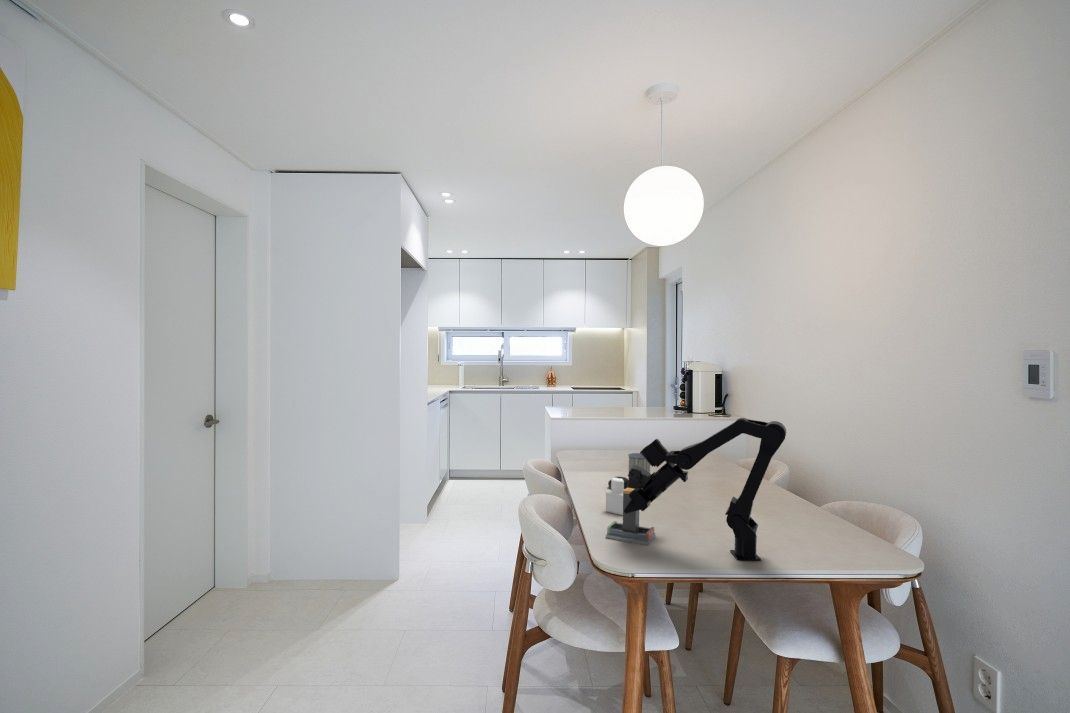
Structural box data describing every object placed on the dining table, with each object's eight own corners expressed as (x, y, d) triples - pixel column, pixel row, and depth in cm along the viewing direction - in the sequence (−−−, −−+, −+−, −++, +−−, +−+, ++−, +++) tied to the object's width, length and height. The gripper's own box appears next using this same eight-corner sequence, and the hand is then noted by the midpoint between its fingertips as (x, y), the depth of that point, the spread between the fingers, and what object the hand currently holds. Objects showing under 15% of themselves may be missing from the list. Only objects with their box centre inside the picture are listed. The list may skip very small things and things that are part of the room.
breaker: (638, 531, 169) (639, 489, 169) (635, 535, 165) (636, 492, 165) (626, 529, 171) (627, 487, 170) (622, 533, 167) (623, 490, 167)
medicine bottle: (615, 507, 199) (616, 474, 199) (633, 511, 195) (633, 477, 194) (605, 511, 194) (605, 477, 193) (623, 515, 189) (623, 481, 189)
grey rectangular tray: (655, 535, 169) (655, 526, 169) (647, 545, 161) (647, 535, 161) (615, 529, 175) (615, 519, 175) (605, 537, 167) (605, 528, 167)
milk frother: (653, 494, 217) (654, 457, 217) (615, 495, 215) (615, 457, 214) (642, 485, 231) (642, 450, 231) (605, 486, 229) (606, 450, 229)
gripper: (652, 452, 174) (618, 482, 179) (636, 463, 157) (599, 496, 163) (677, 480, 171) (641, 510, 176) (663, 494, 154) (624, 527, 159)
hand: (626, 510), depth 169 cm, fingers closed on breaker, 4 cm apart
